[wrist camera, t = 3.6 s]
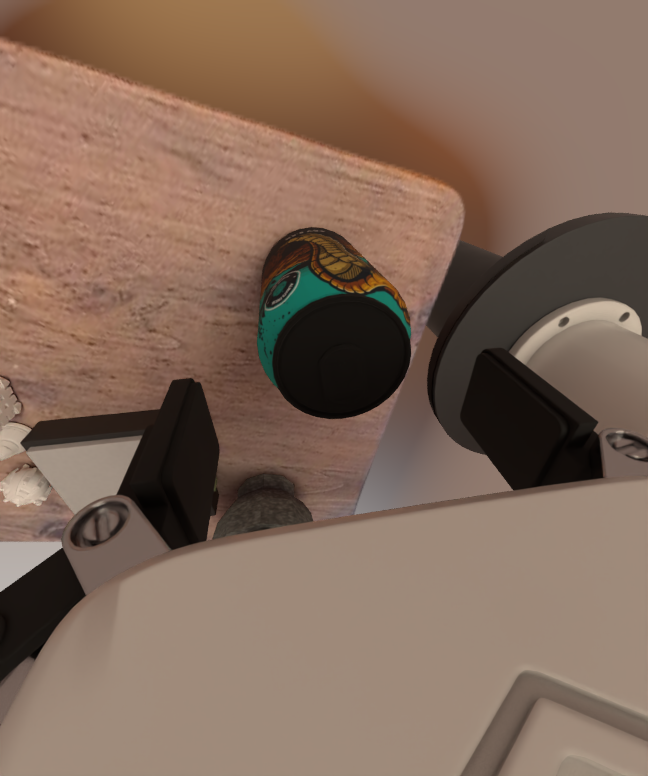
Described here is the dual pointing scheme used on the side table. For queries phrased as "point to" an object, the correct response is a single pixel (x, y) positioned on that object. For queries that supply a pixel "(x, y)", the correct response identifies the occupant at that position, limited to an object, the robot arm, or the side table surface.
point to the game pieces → (5, 442)
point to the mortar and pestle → (263, 507)
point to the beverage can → (330, 326)
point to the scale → (89, 454)
